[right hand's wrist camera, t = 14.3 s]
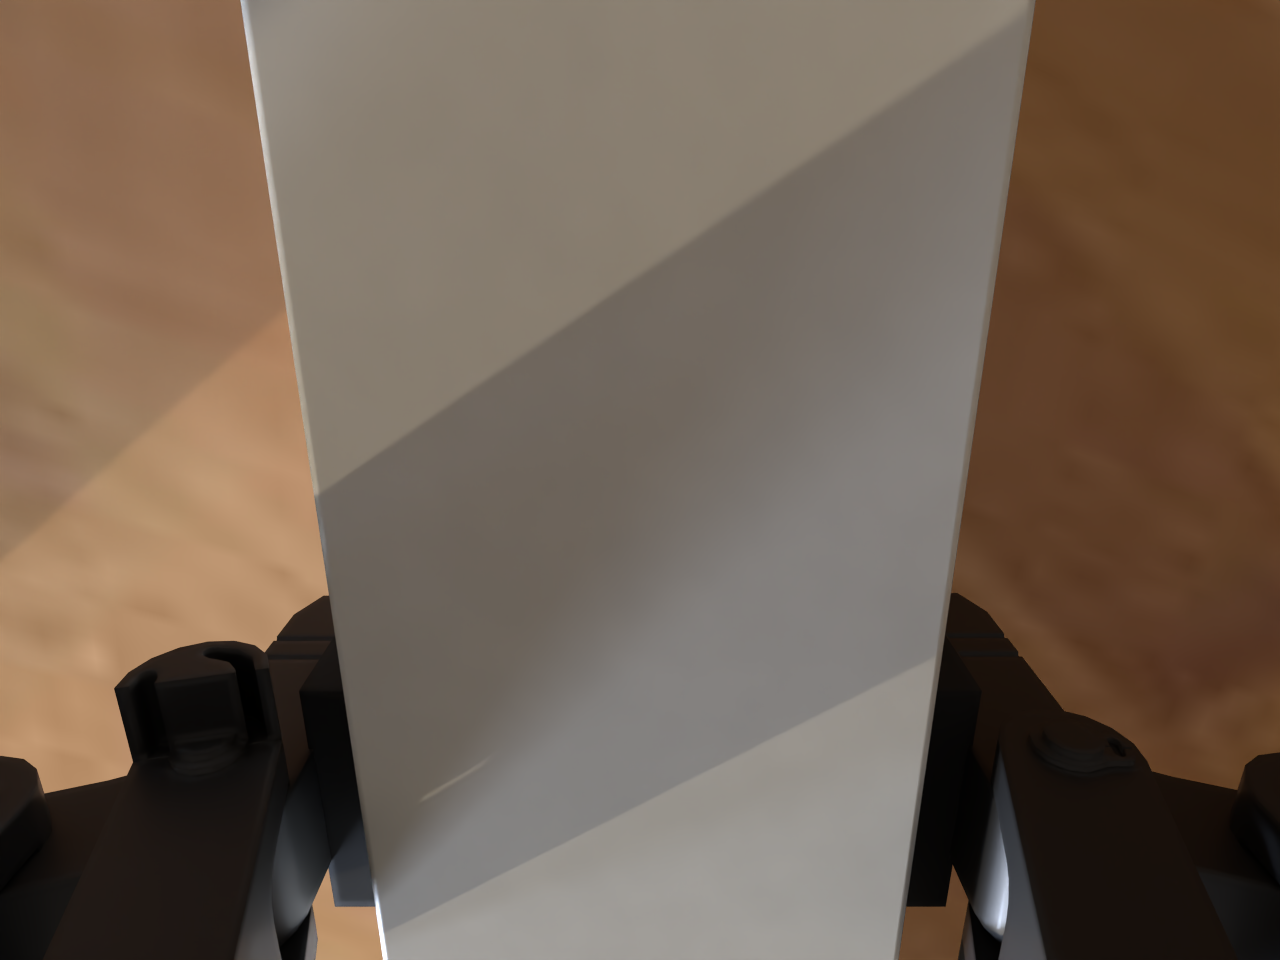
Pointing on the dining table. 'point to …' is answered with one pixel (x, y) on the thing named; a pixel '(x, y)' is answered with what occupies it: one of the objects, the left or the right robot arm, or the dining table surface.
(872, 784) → the post
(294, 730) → the right robot arm
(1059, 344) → the dining table surface
